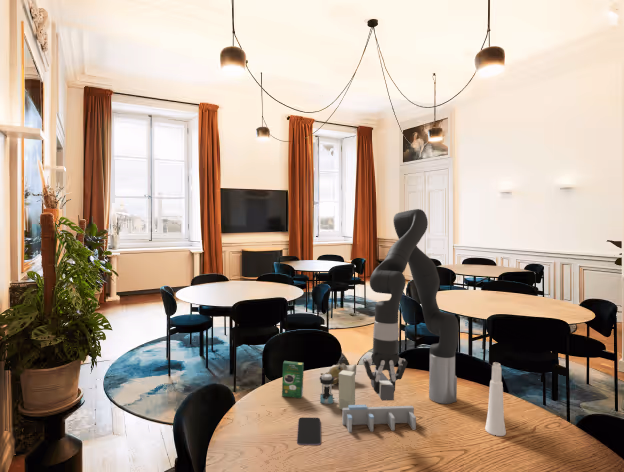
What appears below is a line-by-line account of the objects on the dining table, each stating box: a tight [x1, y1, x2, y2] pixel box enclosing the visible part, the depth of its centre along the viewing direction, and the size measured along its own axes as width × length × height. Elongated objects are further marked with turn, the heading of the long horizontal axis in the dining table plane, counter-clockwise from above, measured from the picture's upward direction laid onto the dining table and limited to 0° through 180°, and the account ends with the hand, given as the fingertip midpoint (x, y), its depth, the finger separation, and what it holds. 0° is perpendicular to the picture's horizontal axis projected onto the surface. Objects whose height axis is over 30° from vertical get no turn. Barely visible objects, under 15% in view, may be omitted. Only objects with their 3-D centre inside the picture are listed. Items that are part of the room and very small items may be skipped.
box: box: [338, 370, 356, 410], centre depth 135 cm, size 5×4×13 cm
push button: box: [319, 373, 338, 404], centre depth 139 cm, size 7×5×10 cm
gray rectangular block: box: [370, 371, 395, 401], centre depth 116 cm, size 12×4×4 cm, turn 7°
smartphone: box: [296, 416, 322, 446], centre depth 118 cm, size 7×1×15 cm
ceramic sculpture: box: [320, 362, 357, 385], centre depth 158 cm, size 11×9×15 cm
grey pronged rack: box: [341, 404, 417, 433], centre depth 122 cm, size 24×6×6 cm, turn 96°
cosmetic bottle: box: [484, 361, 507, 437], centre depth 120 cm, size 6×6×22 cm
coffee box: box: [281, 360, 305, 399], centre depth 144 cm, size 8×3×13 cm, turn 79°
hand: (384, 392), depth 113 cm, fingers closed on gray rectangular block, 3 cm apart
